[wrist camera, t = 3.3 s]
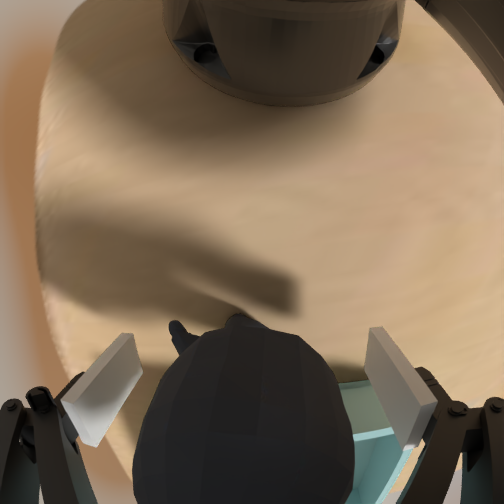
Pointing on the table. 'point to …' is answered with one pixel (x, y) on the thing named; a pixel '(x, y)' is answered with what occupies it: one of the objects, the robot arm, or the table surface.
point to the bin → (371, 444)
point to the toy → (244, 423)
